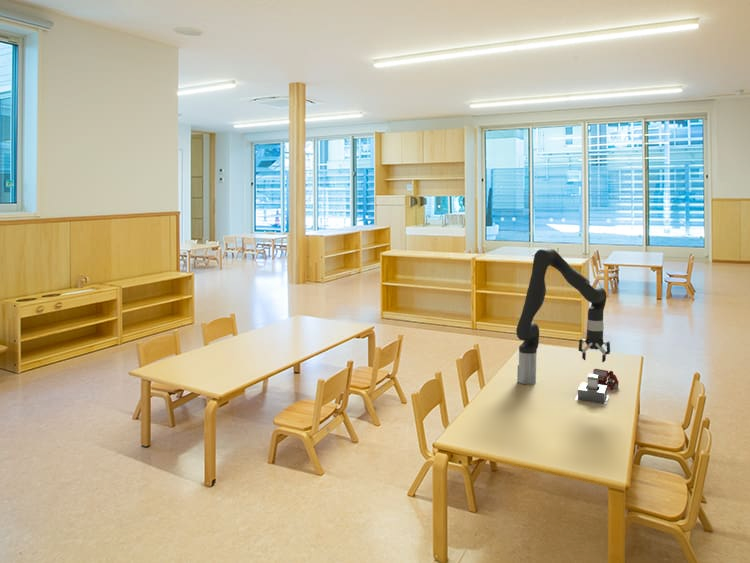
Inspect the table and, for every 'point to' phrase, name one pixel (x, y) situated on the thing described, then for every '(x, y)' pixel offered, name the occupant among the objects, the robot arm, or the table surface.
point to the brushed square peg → (592, 382)
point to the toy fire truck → (603, 378)
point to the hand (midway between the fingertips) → (593, 360)
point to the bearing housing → (592, 394)
